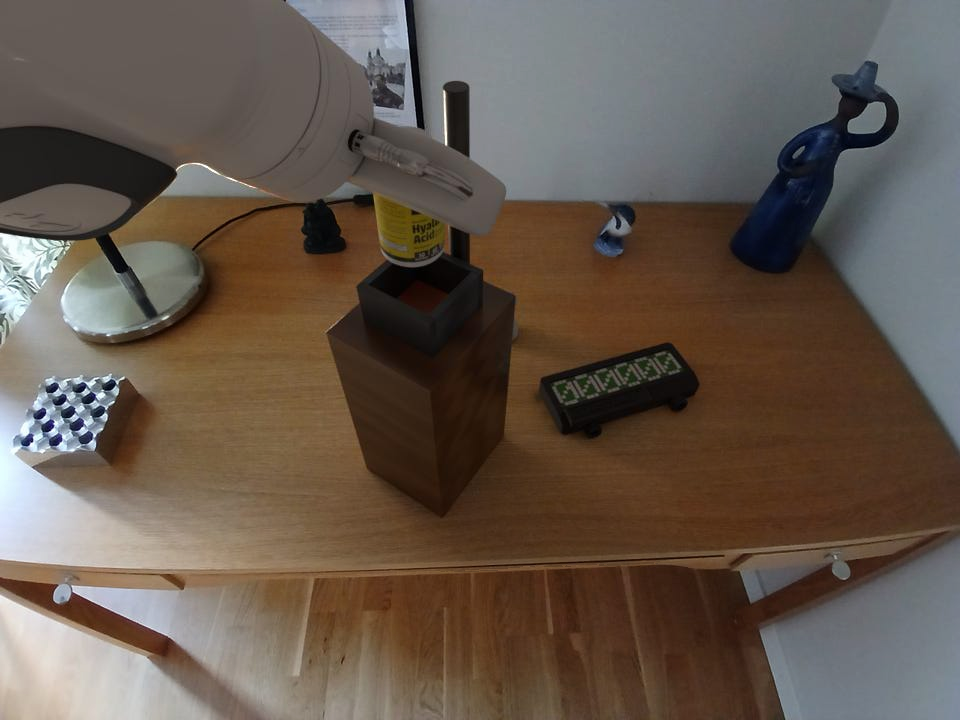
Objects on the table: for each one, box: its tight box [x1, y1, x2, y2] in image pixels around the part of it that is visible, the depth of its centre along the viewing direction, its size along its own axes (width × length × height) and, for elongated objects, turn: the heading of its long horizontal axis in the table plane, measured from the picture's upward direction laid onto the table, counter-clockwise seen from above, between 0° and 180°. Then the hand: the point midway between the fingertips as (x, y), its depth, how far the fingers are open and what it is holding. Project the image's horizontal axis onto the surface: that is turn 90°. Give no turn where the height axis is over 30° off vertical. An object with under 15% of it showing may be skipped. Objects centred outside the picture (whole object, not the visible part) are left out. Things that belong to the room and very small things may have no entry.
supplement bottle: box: [372, 125, 446, 267], centre depth 43 cm, size 5×5×10 cm
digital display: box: [538, 341, 700, 439], centre depth 78 cm, size 21×3×10 cm
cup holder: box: [325, 80, 517, 519], centre depth 55 cm, size 14×12×45 cm
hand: (413, 186), depth 43 cm, fingers closed on supplement bottle, 5 cm apart
